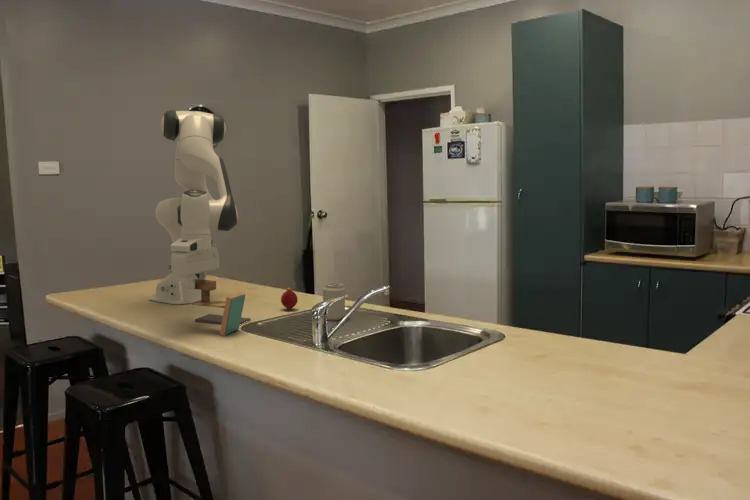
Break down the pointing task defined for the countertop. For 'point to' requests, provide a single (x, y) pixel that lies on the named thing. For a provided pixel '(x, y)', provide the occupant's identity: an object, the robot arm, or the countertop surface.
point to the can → (337, 307)
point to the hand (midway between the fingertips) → (197, 287)
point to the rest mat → (216, 319)
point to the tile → (232, 313)
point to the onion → (289, 299)
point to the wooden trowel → (207, 294)
